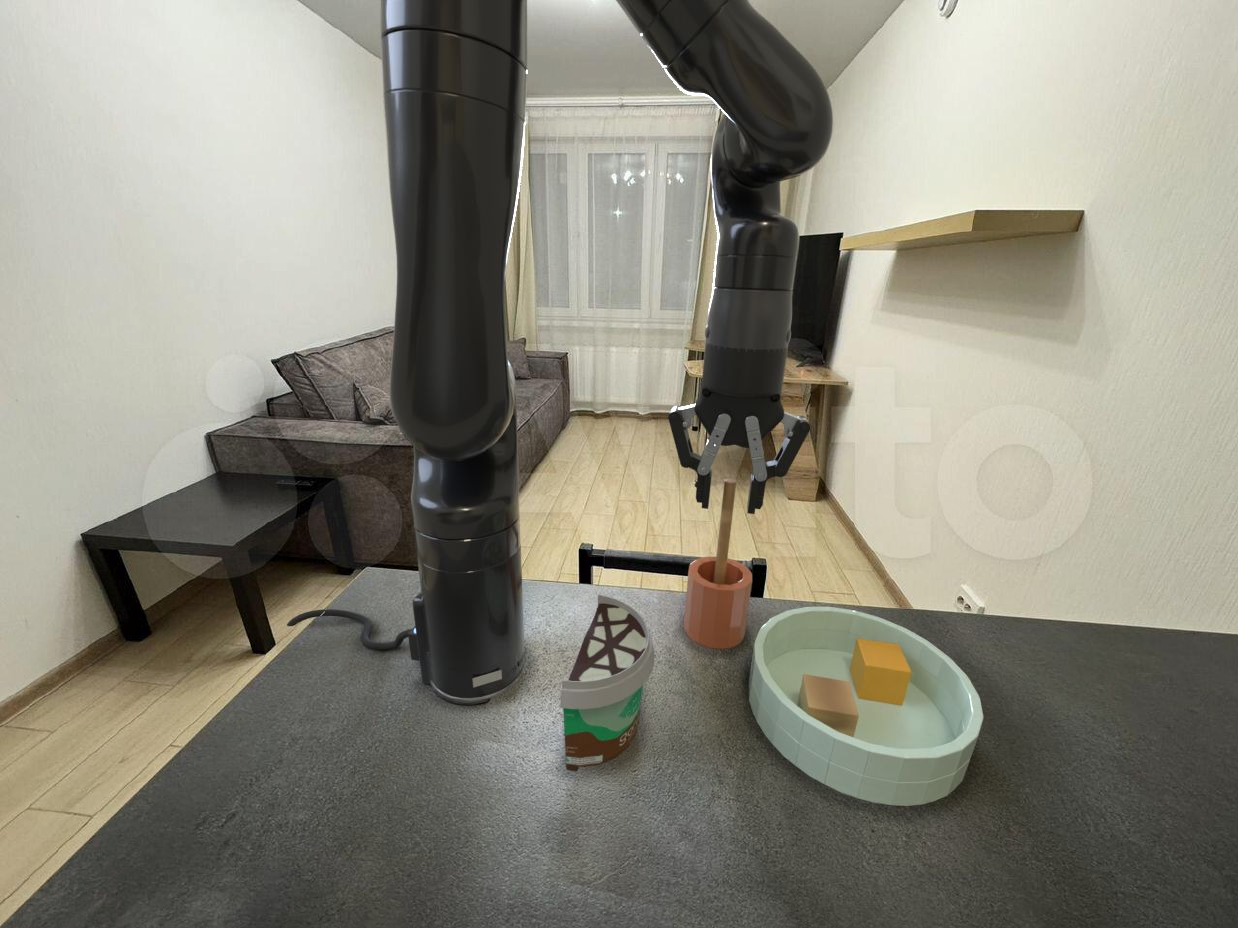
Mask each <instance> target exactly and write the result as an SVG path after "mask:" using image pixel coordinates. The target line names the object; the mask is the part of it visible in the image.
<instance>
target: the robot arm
mask: <svg viewBox="0 0 1238 928" xmlns="http://www.w3.org/2000/svg"><path fill="white" fill-rule="evenodd" d="M615 2H616V3H617V4H618V5H619V7H620V8H621V10H622V11H623V12H624V14H625V15H626V17H627V18H628V20H629V21H630V23H631V24H632V25H633V27H634V28H635V30H636V32H637V33H638V34H639V36H641V38H642V40H643V41H644V43H645V44H646V45H647V47H648V48H649V50H650V51H651V53H652V54H653V55H654V56H655V59H656V60H657V61H658V63H659V64H660V66H661V67H662V68H664V71H665V73H666V74H667V75H668V77H669V78H670V79H671V80H672V81H673V83H674V84H675V85H676V86H677V88H679V90H680V91H682V92H683V93H684V94H687V95H691V96H705V97H708V98H710V99H711V100H712V101H713V102H714V103H715V105H717V107H718V108H719V109H721V111H722V112H723V115H722V116H721V119H720V120H719V122H718V124H717V127H716V130H715V134H714V138H713V143H712V149H711V158H710V175H711V177H710V178H711V188H712V201H713V211H714V218H715V225H716V230H717V231H716V232H717V243H716V251H715V259H714V260H715V261H714V269H713V271H714V272H713V283H712V290H711V298H710V302H709V306H708V310H707V311H708V312H707V317H706V318H707V319H706V326H705V329H704V337H705V343H704V355H703V364H702V365H703V366H702V375H701V376H702V377H701V388H700V394H699V396H698V397H697V399H696V401H695V402H694V404H690V405H685V406H679V405H674V406H673V407H671V409H670V411H669V414H668V416H667V420H668V422H669V426H670V429H671V433H672V437H673V441H674V445H675V449H676V453H677V457H678V460H679V464H680V466H681V467H682V468H684V469H688V468H689V469H691V470H693V471H694V472H696V475H697V476H696V477H697V479H696V488H695V489H696V490H695V500H696V503H700V504H701V509H704V510H705V509H706V510H709V505H710V495H711V487H712V478H713V477H712V475H713V469H712V466H713V464H714V461H715V459H716V457H717V455H718V453H719V450H720V447H721V446H723V447H729V446H737V447H741V448H743V449H749V454H750V458H751V459H750V460H751V463H752V469H753V472H752V473H750V480H749V489H748V495H747V503H746V513H747V514H750V515H755V514H756V510H761V509H762V507H763V505H764V498H765V492H766V491H765V490H766V484H767V481H768V480H770V479H772V478H775V477H776V478H783V477H785V476H786V475H787V474H788V472H789V470H790V468H791V466H792V464H793V462H794V461H795V459H796V457H797V456H798V453H799V451H800V450H801V448H802V446H803V444H804V442H805V440H806V438H807V437H808V435H809V433H810V431H811V424H810V422H809V421H808V418H807V417H806V416H804V415H798V416H797V415H795V414H793V413H790V412H787V411H785V408H784V406H783V403H782V393H783V385H784V377H785V371H786V364H787V357H788V349H789V344H790V341H791V337H792V330H791V328H792V327H791V326H792V321H793V319H792V318H793V293H794V292H793V290H794V284H795V278H796V269H797V262H798V257H799V249H800V248H799V247H800V231H799V226H798V225H797V223H796V222H795V221H794V220H793V219H792V218H789V217H786V216H784V215H783V213H782V195H781V194H782V193H781V184H782V182H784V181H788V180H792V179H794V178H797V177H800V176H802V175H804V174H806V173H808V172H809V171H811V170H812V169H813V168H814V167H816V166H817V165H818V164H819V163H820V162H821V161H822V159H823V158H824V156H825V155H826V154H827V151H828V149H829V147H830V145H831V141H832V138H833V134H834V133H833V132H834V111H833V105H832V101H831V97H830V94H829V92H828V89H827V87H826V85H825V82H824V81H823V79H822V77H821V75H820V73H819V72H818V71H817V69H815V67H814V66H813V65H812V63H811V62H810V61H809V60H808V59H807V58H806V57H805V56H804V55H803V53H802V52H801V51H799V49H797V48H796V47H795V46H794V45H793V44H792V42H791V41H790V40H788V39H787V37H785V36H784V35H783V34H782V33H781V31H780V30H779V29H778V28H777V27H776V26H775V25H773V24H772V23H771V22H770V21H769V20H768V19H767V18H765V17H764V16H763V15H762V14H760V13H759V12H758V11H757V9H755V7H753V5H752V4H751V3H750V1H749V0H615ZM380 52H381V53H380V54H381V57H380V58H381V75H382V76H381V79H382V81H381V82H382V105H383V118H384V130H385V131H384V132H385V143H386V161H387V172H388V185H389V186H388V187H389V196H390V197H389V198H390V199H389V200H390V207H391V217H392V225H393V234H394V235H393V236H394V245H395V255H396V256H395V257H396V287H395V289H396V290H395V291H396V293H395V308H394V309H395V310H394V323H393V339H392V352H391V353H392V354H391V363H390V373H389V374H390V375H389V387H388V388H389V389H388V390H389V392H388V393H389V395H388V397H389V404H390V409H391V413H392V416H393V419H394V421H395V423H396V425H397V427H398V429H399V431H400V432H401V433H402V435H403V436H404V438H405V439H406V440H407V441H408V442H409V443H410V444H411V445H412V446H413V475H412V484H411V491H410V508H411V509H410V510H411V518H412V525H413V534H414V542H415V543H414V544H415V550H416V552H415V553H416V558H417V559H416V560H417V568H418V575H419V584H420V591H419V592H418V593H417V594H416V595H415V596H414V597H413V599H412V602H411V603H412V604H411V605H412V611H413V612H412V613H413V620H414V626H413V628H408V629H405V630H402V631H400V632H398V634H397V635H396V637H395V639H394V640H392V641H388V642H387V641H386V642H377V641H374V640H371V639H370V638H369V635H370V633H371V630H372V627H373V622H372V620H371V619H370V618H369V617H368V616H366V615H363V614H360V613H357V612H355V611H351V610H350V611H349V610H345V609H335V608H331V609H330V608H324V609H323V608H322V609H314V610H310V611H306V612H303V613H300V614H298V615H296V616H293V618H291V619H290V621H288V622H287V623H286V626H287V627H289V628H290V627H293V626H296V625H297V624H300V623H301V622H303V621H306V620H308V619H313V618H318V617H339V618H346V619H350V620H354V621H356V622H359V623H361V624H363V625H364V626H363V628H362V631H361V634H360V637H359V639H360V642H361V645H363V646H364V647H365V648H367V649H370V650H375V651H389V650H394V649H398V648H399V647H400V646H401V645H402V644H403V642H404V640H405V639H407V638H408V645H409V652H410V660H411V661H416V662H419V668H420V669H419V670H420V678H421V683H422V684H426V685H429V686H431V689H432V691H433V692H434V693H435V694H436V695H437V696H438V697H440V698H441V699H443V700H445V701H447V702H450V703H453V704H458V705H478V704H484V703H488V702H490V701H491V699H493V698H495V697H498V696H500V695H502V694H504V693H506V692H507V691H508V690H510V689H511V688H513V686H514V685H516V684H517V683H518V682H519V680H520V679H521V678H522V676H523V674H524V672H525V670H526V665H527V655H526V645H525V623H524V598H523V594H524V593H523V570H522V545H521V544H522V543H521V519H520V517H521V516H520V462H519V440H518V439H519V435H518V434H519V433H518V405H517V403H518V402H517V401H518V400H517V385H516V384H517V383H516V378H515V377H516V376H515V373H514V369H513V367H512V365H511V362H510V361H509V355H508V353H509V352H508V339H507V322H506V275H507V274H506V273H507V264H508V256H509V250H510V243H511V238H512V233H513V227H514V222H515V217H516V211H517V206H518V199H519V192H520V185H521V184H520V183H521V176H522V169H523V168H522V167H523V160H524V159H523V158H524V149H525V148H524V147H525V135H526V120H527V119H526V118H527V117H526V115H527V114H526V113H527V92H528V91H527V89H528V88H527V87H528V0H380ZM695 416H696V417H697V419H698V420H699V421H700V423H701V425H702V427H703V429H704V430H705V431H706V433H707V434H708V437H707V439H706V442H705V444H704V447H703V449H702V452H701V455H700V454H698V453H695V452H694V449H693V444H692V441H691V438H690V434H689V433H690V432H689V429H690V428H691V426H692V423H693V417H695ZM780 423H781V424H782V425H783V427H782V433H783V435H784V437H785V438H784V440H783V442H782V444H781V445H780V447H779V449H778V451H777V453H776V455H775V457H774V458H773V460H769V461H766V459H765V453H764V448H763V440H765V439H766V437H768V436H769V434H770V433H771V432H772V431H774V429H775V428H776V427H777V426H778V425H779V424H780ZM325 609H327V610H325ZM324 611H325V613H324V614H323V615H322V616H320V615H321V614H322V613H323V612H324Z"/></svg>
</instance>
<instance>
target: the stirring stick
mask: <svg viewBox="0 0 1238 928" xmlns="http://www.w3.org/2000/svg"><path fill="white" fill-rule="evenodd" d="M736 490H737V480H735V479H733V478H726V479H724V482H723V491H722V500H721V501H722V502H721V510H720V520H719V526H718V527H719V529H718V538H717V547H716V554H715V555H716V556H715V557H716V564H715V574H714V583H715V584H719V585H724V584H725V576H726V567H727V558H728V559H729V557H728V556H729V550H730V549H729V548H730V542H731V533H732V532H731V531H732V524H733V523H732V522H733V516H734V507H735V497H736Z"/></svg>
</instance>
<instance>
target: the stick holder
mask: <svg viewBox="0 0 1238 928" xmlns="http://www.w3.org/2000/svg"><path fill="white" fill-rule="evenodd" d="M715 564H716V556H704V557H700V558H696V559H695V560H693V562H691V563H690V564H689V565H688V572H687V583H686V594H685V605H684V606H685V607H684V617H683V629H684V632H685V634H686V635H687V637H688V638H689V639H690V640H692V641H693V642H695V644H698V645H700V646H703V647H705V648H709V649H713V650H714V649H715V650H726V649H731V648H734V647H736V646H738V645H739V644H741V643H742V641H743V640H744V638H745V636H746V630H747V621H748V614H749V607H750V599H751V594H752V593H751V592H752V586H753V573H752V572H751V570H750V569H749V568H748V567H747V565H745V564H743V563H741V562H739V561H738V560H735V559H732V558H729V557H728V558H727V567H726V576H725V584H724V585H719V584H715V583H714V574H715Z"/></svg>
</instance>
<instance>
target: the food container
mask: <svg viewBox="0 0 1238 928" xmlns="http://www.w3.org/2000/svg"><path fill="white" fill-rule="evenodd" d="M578 651H579V652H578V654H577V657H576V659H575V661H574V665H573V667H572V669H571V672H570V674H569V677H568V680H566V679H562V680H561V690H560V702H559V708H560V709H562V711H563V731H564V748H565V750H564V753H565V770H567V771H572V772H573V771H574V772H575V771H576V772H578V770H579V768H584V767H591V766H599V765H602V764H604V763H607V762H609V761H611V760H614V759H617V757H619V756H620V755H621V754H622V753H624V752H625V750H627V749H628V748H629V747H630V745H631V744H632V742H633V741H634V739H635V737H636V733H637V729H638V723H639V717H640V710H641V704H642V703H641V702H642V697H643V696H642V695H643V689H644V684H645V683H646V682H647V681H648V679H649V678H650V676H651V674H652V673H653V669H654V666H655V659H656V656H655V655H656V654H655V648H654V644H653V637H652V634H651V632H650V629H649V627H648V625H647V623H646V621H645V619H644V618H643V617H642V615H641V614H640V613H639V612H638V611H637V610H636V609H634V607H632V606H631V605H629V604H628V603H625V602H623V601H621V600H619V599H616V598H614V597H610V596H607V595H602V594H598V595H597V607H596V611H595V614H594V616H593V619H592V621H591V623H590V625H589V627H588V629H587V631H586V633H585V635H584V637H583V641H582V643H581V645H580V649H579V650H578Z"/></svg>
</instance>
